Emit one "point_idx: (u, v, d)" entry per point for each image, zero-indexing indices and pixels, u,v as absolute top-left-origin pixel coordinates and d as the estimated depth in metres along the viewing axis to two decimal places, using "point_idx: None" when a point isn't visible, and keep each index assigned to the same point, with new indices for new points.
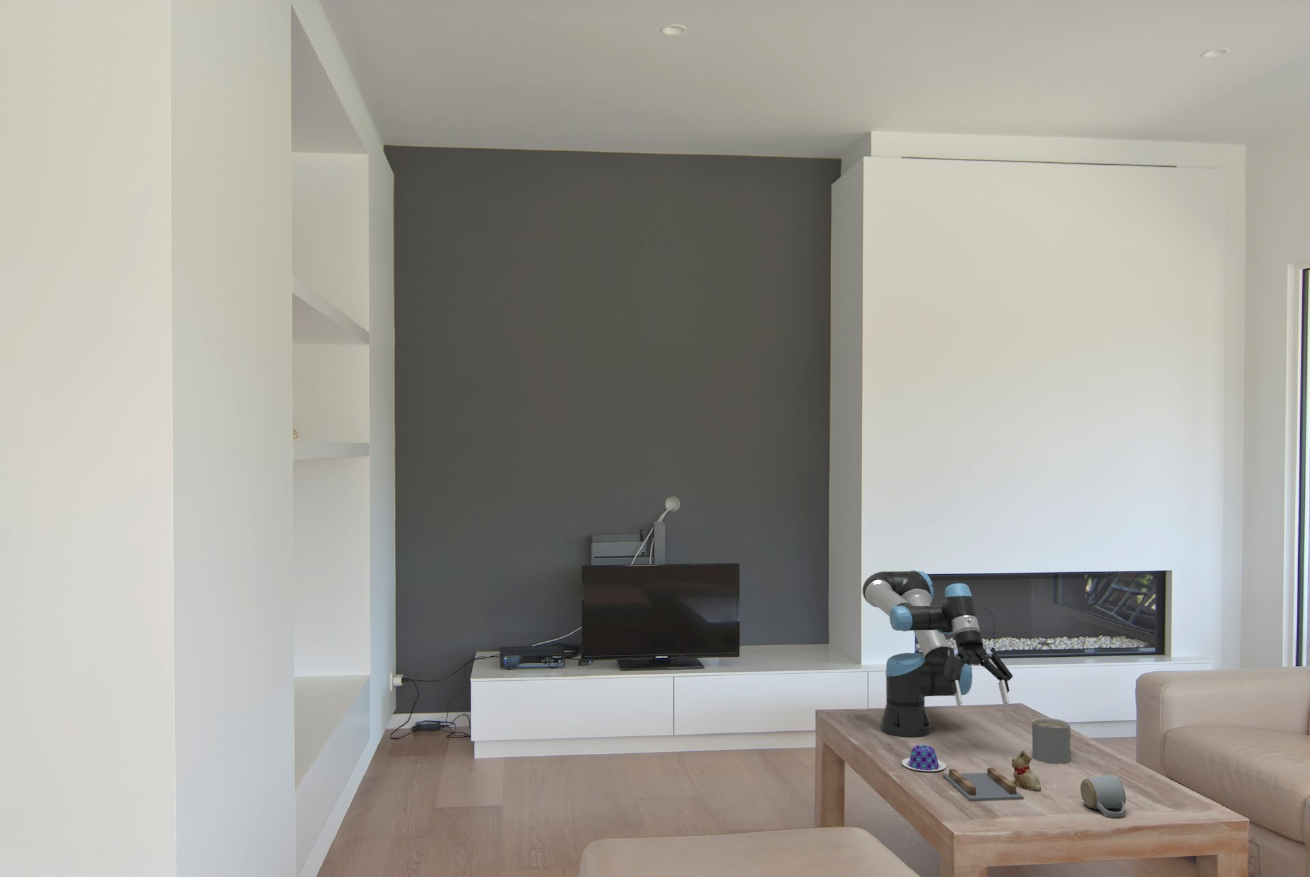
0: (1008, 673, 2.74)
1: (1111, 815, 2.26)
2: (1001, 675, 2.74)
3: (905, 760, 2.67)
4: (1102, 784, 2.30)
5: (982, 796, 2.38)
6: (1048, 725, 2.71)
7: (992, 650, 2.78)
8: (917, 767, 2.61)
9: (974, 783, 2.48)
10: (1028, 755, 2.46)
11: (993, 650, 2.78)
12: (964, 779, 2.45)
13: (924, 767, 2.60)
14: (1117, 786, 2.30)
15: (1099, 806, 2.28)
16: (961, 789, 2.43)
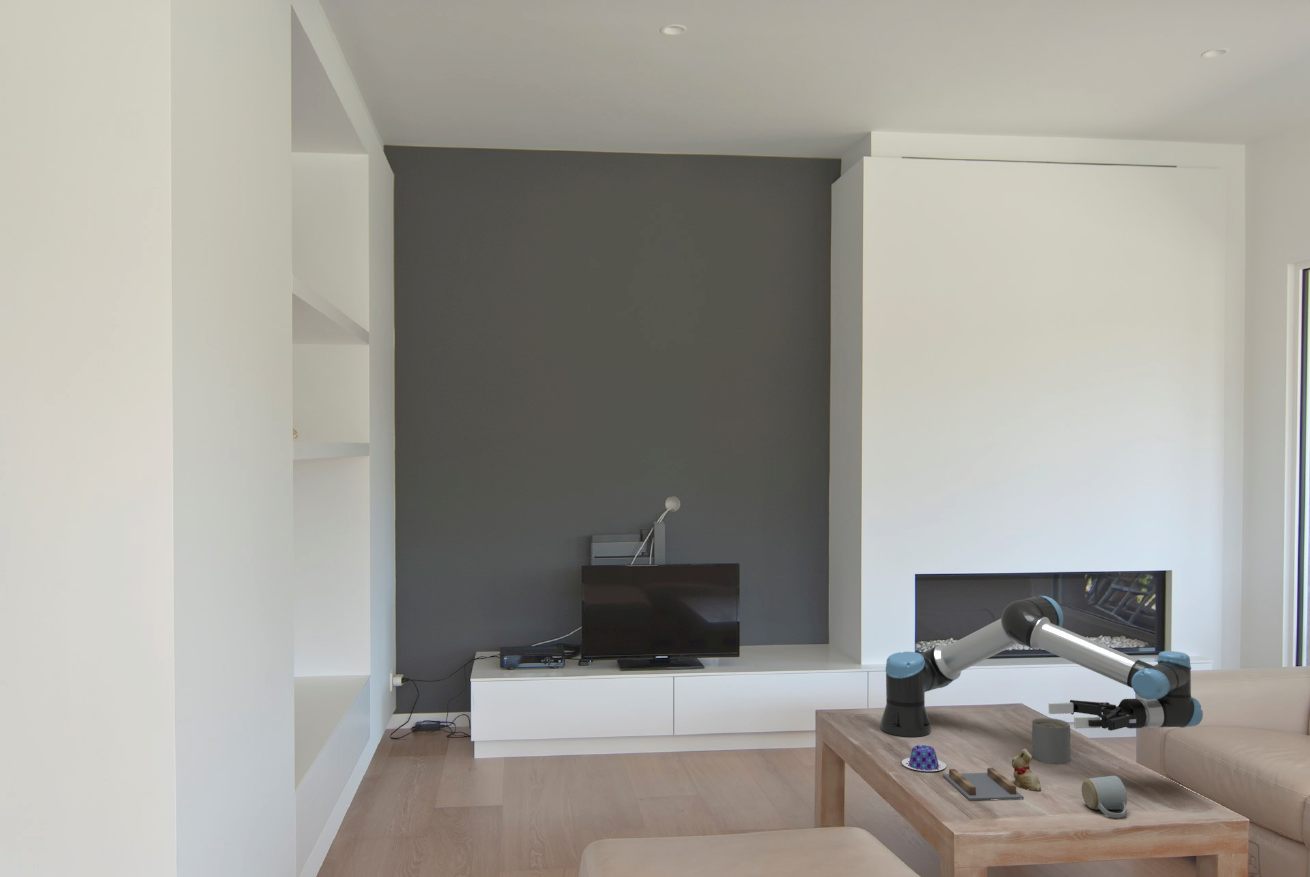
0: None
1: (1113, 815, 2.25)
2: None
3: (905, 760, 2.67)
4: (1103, 784, 2.30)
5: (982, 796, 2.38)
6: (1048, 725, 2.71)
7: None
8: (917, 767, 2.61)
9: (974, 783, 2.48)
10: (1028, 755, 2.46)
11: None
12: (964, 779, 2.45)
13: (924, 767, 2.60)
14: (1118, 787, 2.29)
15: (1100, 807, 2.28)
16: (961, 789, 2.43)
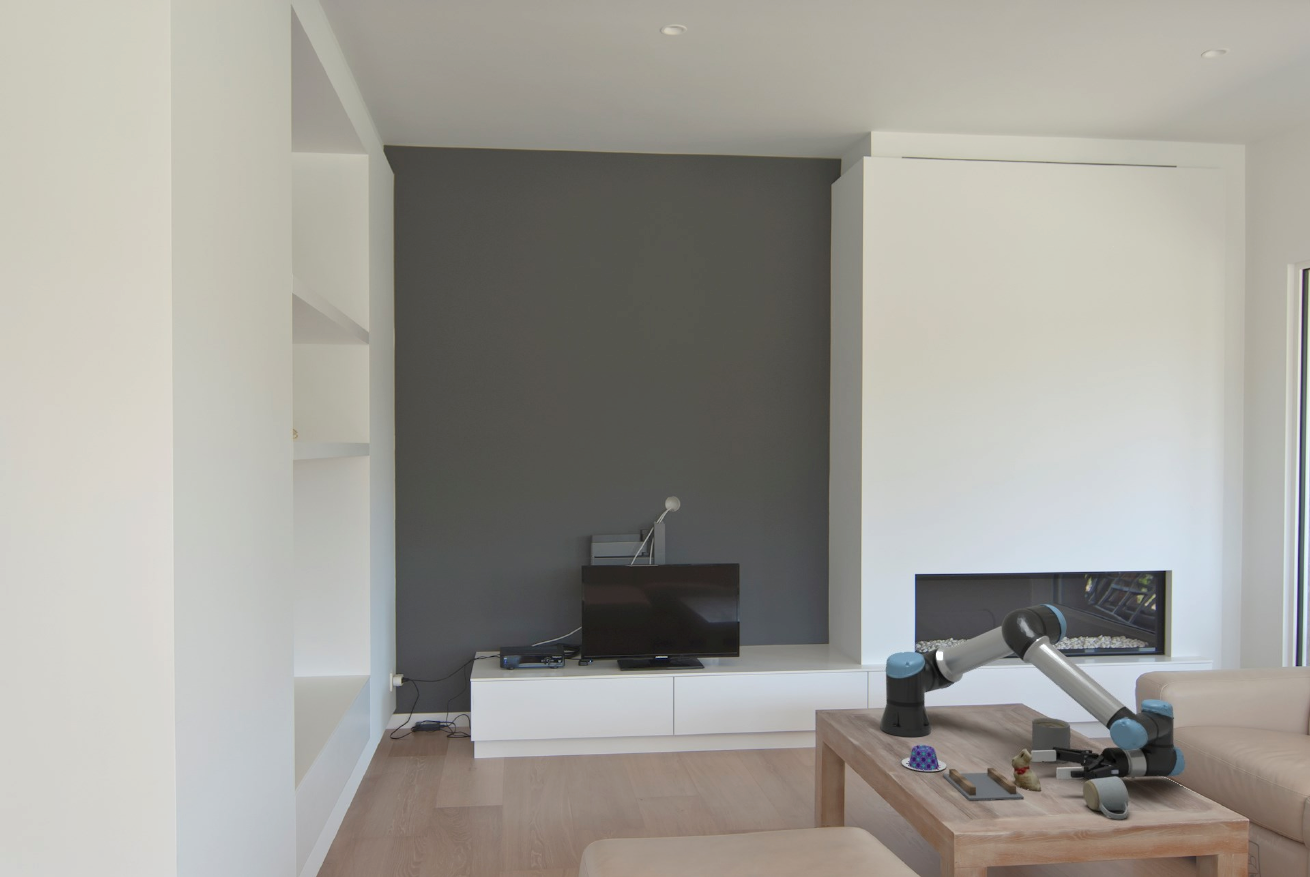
0: None
1: (1114, 816, 2.25)
2: (1060, 759, 2.54)
3: (905, 760, 2.67)
4: (1104, 785, 2.29)
5: (982, 796, 2.38)
6: (1048, 725, 2.71)
7: None
8: (917, 767, 2.61)
9: (974, 783, 2.48)
10: (1028, 755, 2.46)
11: None
12: (964, 779, 2.45)
13: (924, 767, 2.60)
14: (1120, 788, 2.28)
15: (1102, 808, 2.27)
16: (961, 789, 2.43)
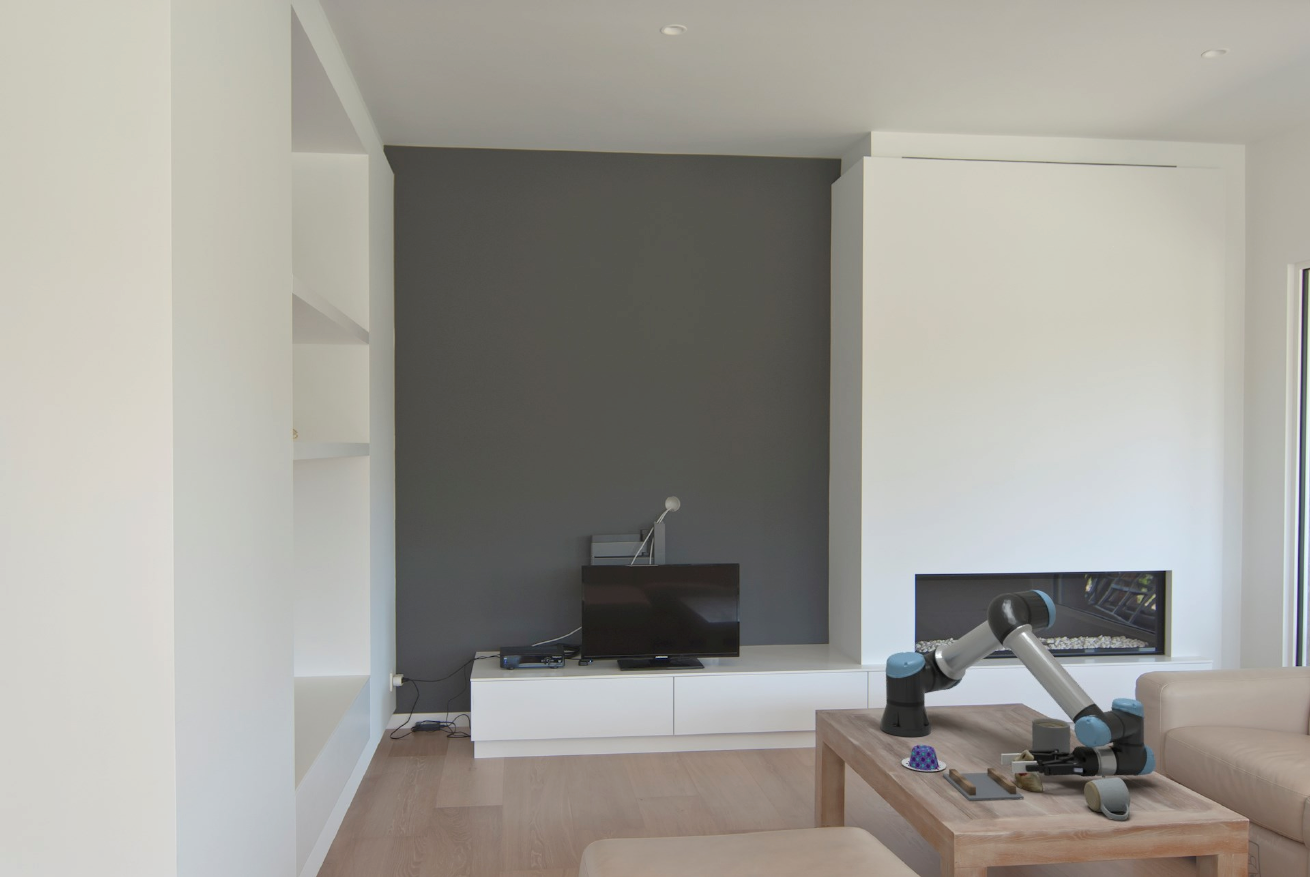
0: None
1: (1115, 817, 2.24)
2: None
3: (905, 760, 2.68)
4: (1106, 786, 2.28)
5: (982, 796, 2.38)
6: (1048, 725, 2.71)
7: None
8: (916, 767, 2.61)
9: (974, 783, 2.48)
10: (1030, 756, 2.45)
11: None
12: (964, 779, 2.45)
13: (923, 767, 2.60)
14: (1121, 789, 2.28)
15: (1103, 809, 2.26)
16: (961, 789, 2.43)
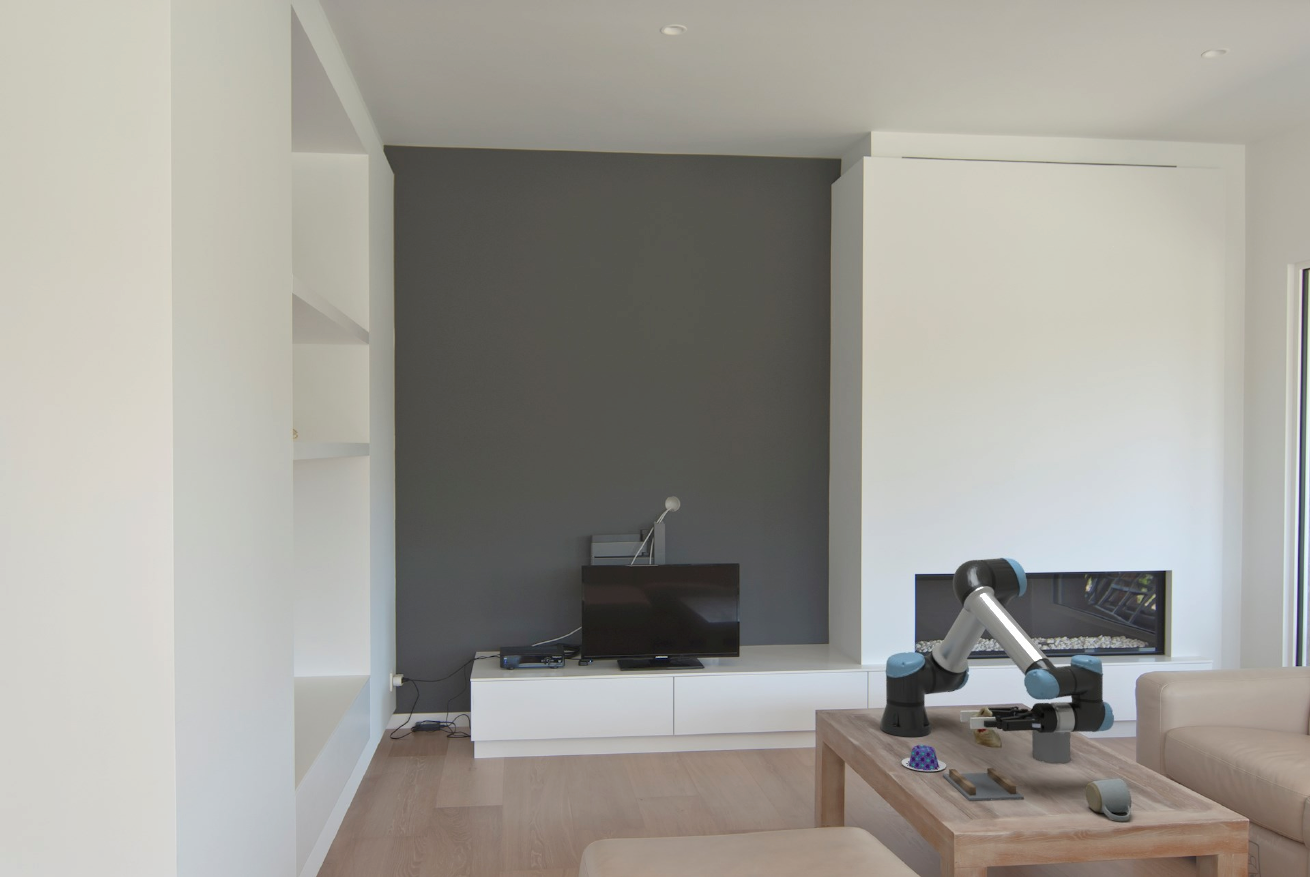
0: None
1: (1117, 819, 2.23)
2: None
3: (905, 759, 2.68)
4: (1107, 787, 2.28)
5: (982, 796, 2.38)
6: None
7: None
8: (916, 767, 2.61)
9: (974, 783, 2.48)
10: (989, 712, 2.44)
11: None
12: (964, 779, 2.45)
13: (922, 767, 2.60)
14: (1123, 790, 2.27)
15: (1104, 810, 2.26)
16: (961, 789, 2.43)
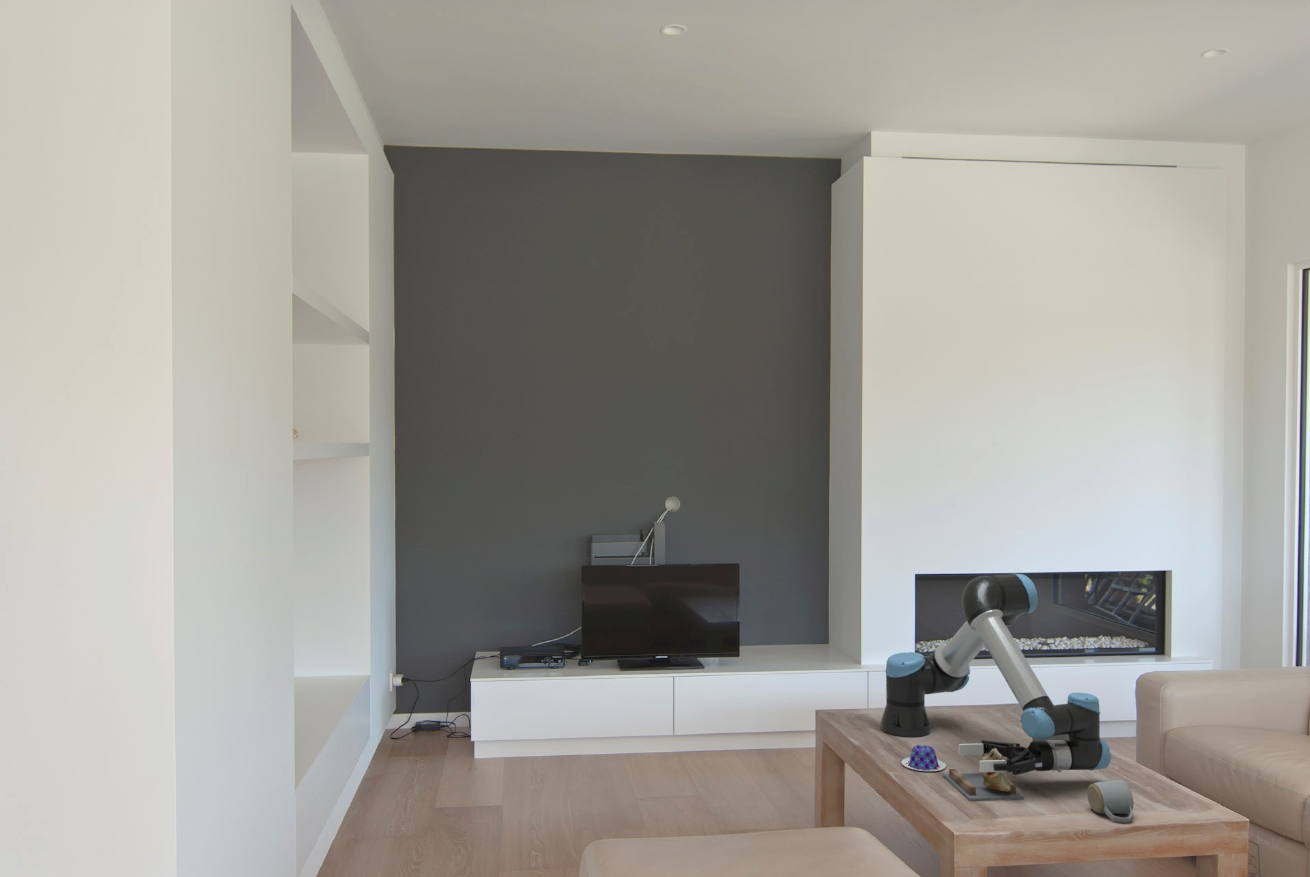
0: None
1: (1119, 820, 2.23)
2: None
3: (906, 759, 2.68)
4: (1109, 788, 2.27)
5: (982, 796, 2.38)
6: None
7: None
8: (915, 766, 2.61)
9: (974, 783, 2.48)
10: (998, 754, 2.41)
11: None
12: (964, 779, 2.45)
13: (922, 767, 2.60)
14: (1124, 791, 2.26)
15: (1106, 811, 2.25)
16: (961, 789, 2.43)
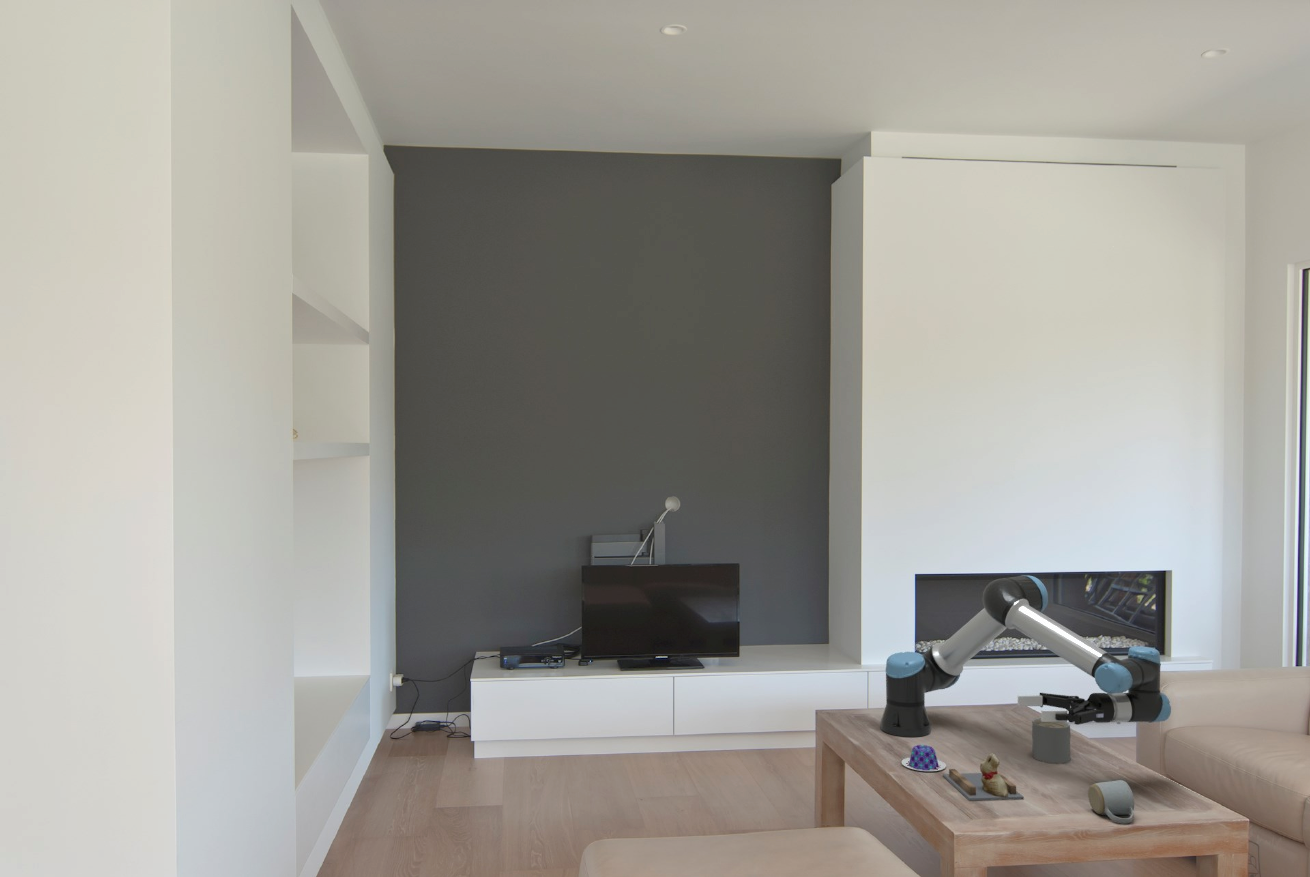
0: None
1: (1120, 821, 2.22)
2: None
3: (906, 759, 2.68)
4: (1110, 789, 2.26)
5: (982, 796, 2.38)
6: (1048, 725, 2.71)
7: None
8: (914, 766, 2.61)
9: (974, 783, 2.48)
10: (995, 760, 2.40)
11: None
12: (964, 779, 2.45)
13: (921, 767, 2.61)
14: (1125, 792, 2.26)
15: (1107, 812, 2.24)
16: (961, 789, 2.43)
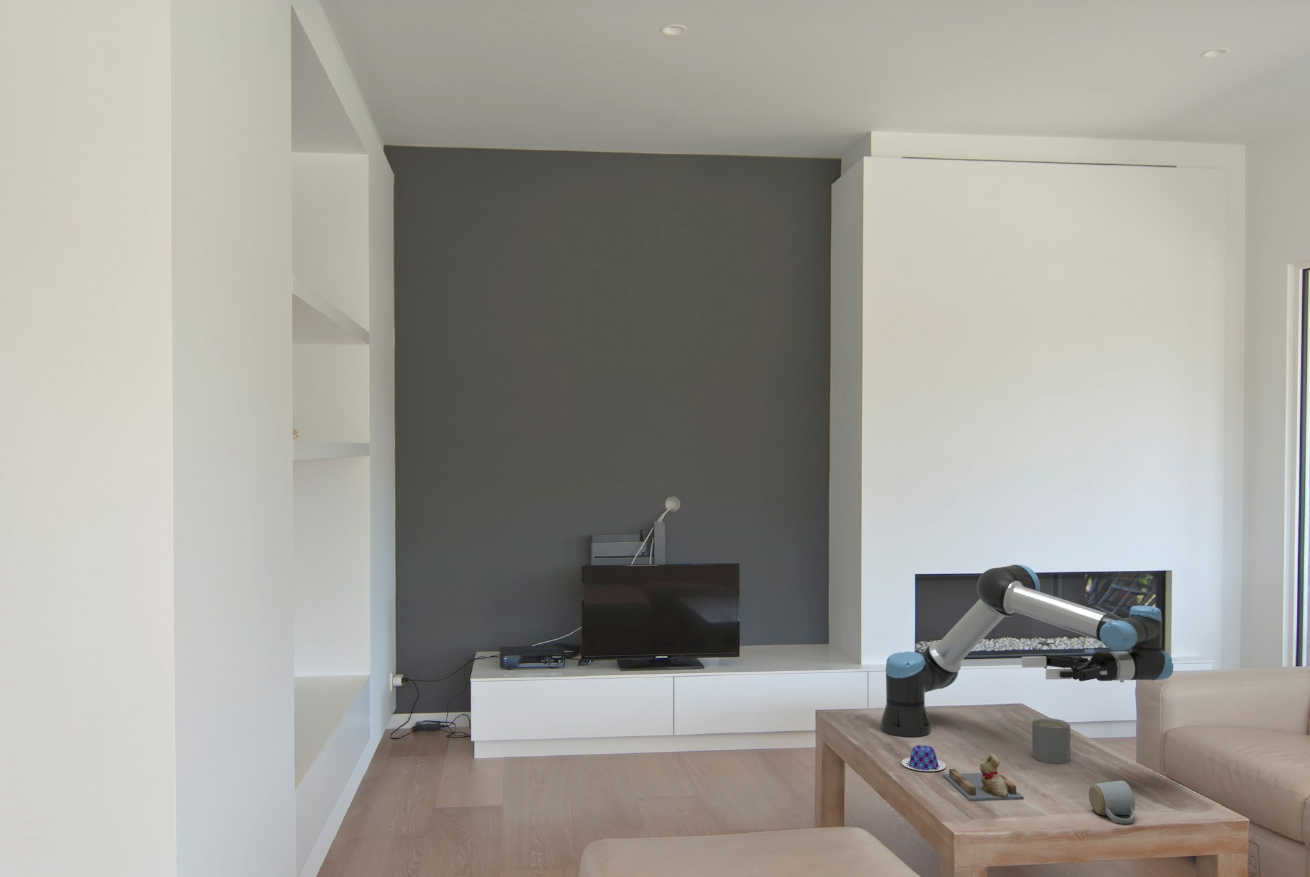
0: None
1: (1120, 821, 2.22)
2: None
3: (907, 759, 2.68)
4: (1110, 789, 2.26)
5: (982, 796, 2.38)
6: (1048, 725, 2.71)
7: None
8: (914, 766, 2.62)
9: (974, 783, 2.48)
10: (995, 760, 2.40)
11: None
12: (964, 779, 2.45)
13: (921, 767, 2.61)
14: (1126, 792, 2.26)
15: (1108, 812, 2.24)
16: (961, 789, 2.43)
